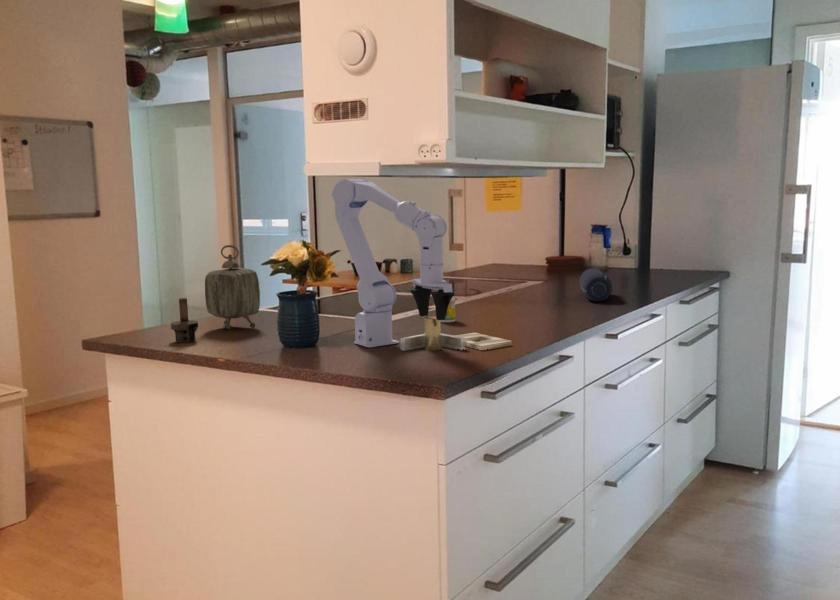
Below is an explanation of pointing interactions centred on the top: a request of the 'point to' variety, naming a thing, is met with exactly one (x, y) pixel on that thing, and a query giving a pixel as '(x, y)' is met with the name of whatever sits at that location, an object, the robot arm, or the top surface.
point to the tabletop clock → (232, 291)
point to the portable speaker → (595, 284)
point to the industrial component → (184, 324)
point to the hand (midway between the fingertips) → (432, 317)
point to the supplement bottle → (450, 312)
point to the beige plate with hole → (484, 341)
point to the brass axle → (432, 334)
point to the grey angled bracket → (419, 342)
